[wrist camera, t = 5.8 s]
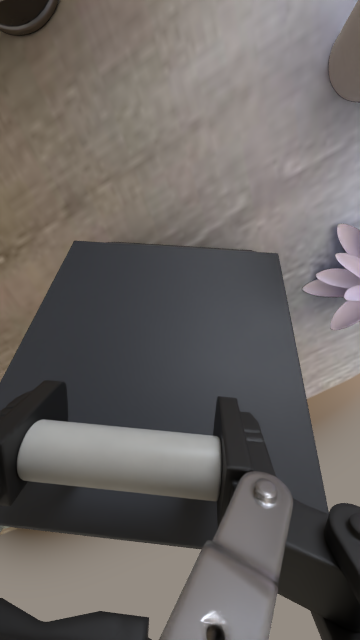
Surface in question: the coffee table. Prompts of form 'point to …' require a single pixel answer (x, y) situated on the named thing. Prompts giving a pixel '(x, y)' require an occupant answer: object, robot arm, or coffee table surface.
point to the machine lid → (156, 391)
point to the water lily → (342, 279)
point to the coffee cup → (347, 58)
